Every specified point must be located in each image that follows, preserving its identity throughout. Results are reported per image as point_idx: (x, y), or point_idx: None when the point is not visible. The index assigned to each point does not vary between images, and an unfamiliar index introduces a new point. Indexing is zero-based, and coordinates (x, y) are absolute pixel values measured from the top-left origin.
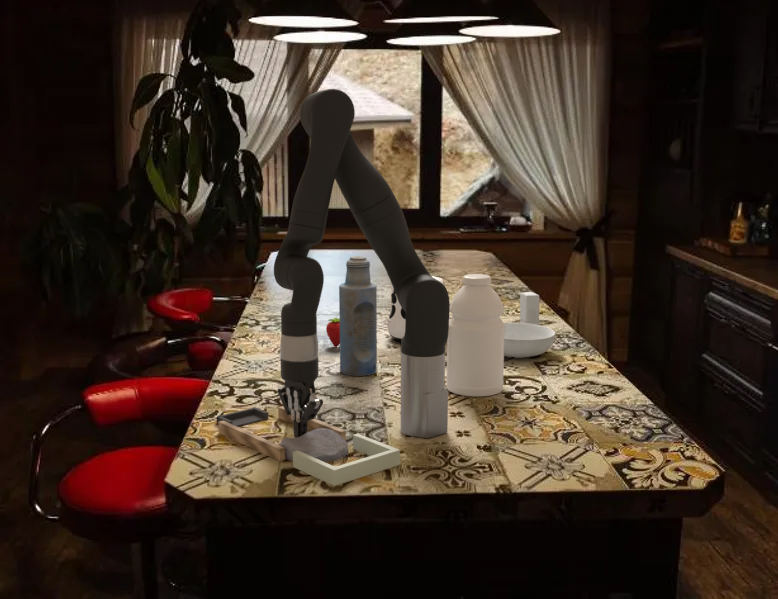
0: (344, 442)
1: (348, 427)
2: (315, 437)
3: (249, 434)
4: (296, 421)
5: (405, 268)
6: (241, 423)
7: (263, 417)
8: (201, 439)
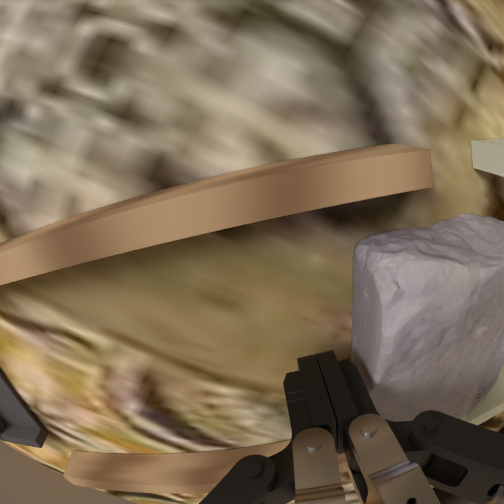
0: None
1: (169, 11)
2: (451, 364)
3: None
4: (336, 452)
5: None
6: (15, 402)
7: None
8: None
